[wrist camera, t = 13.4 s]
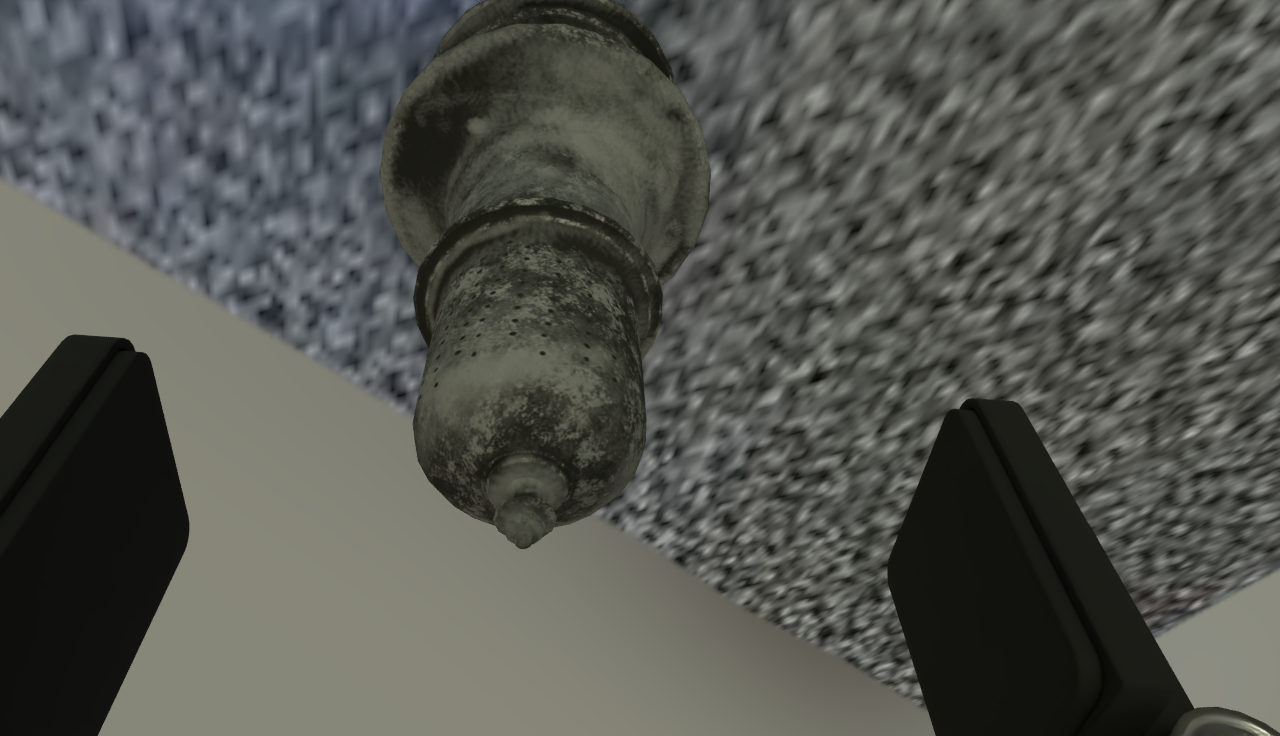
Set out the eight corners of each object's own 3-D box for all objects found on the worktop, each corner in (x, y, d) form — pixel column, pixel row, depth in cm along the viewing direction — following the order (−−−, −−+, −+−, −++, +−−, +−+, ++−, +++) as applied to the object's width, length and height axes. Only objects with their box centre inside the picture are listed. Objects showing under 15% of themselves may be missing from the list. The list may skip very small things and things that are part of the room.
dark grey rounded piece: (702, 221, 21) (798, 679, 12) (447, 253, 22) (337, 729, 12) (680, -53, 18) (791, 282, 8) (374, -13, 18) (136, 361, 8)
